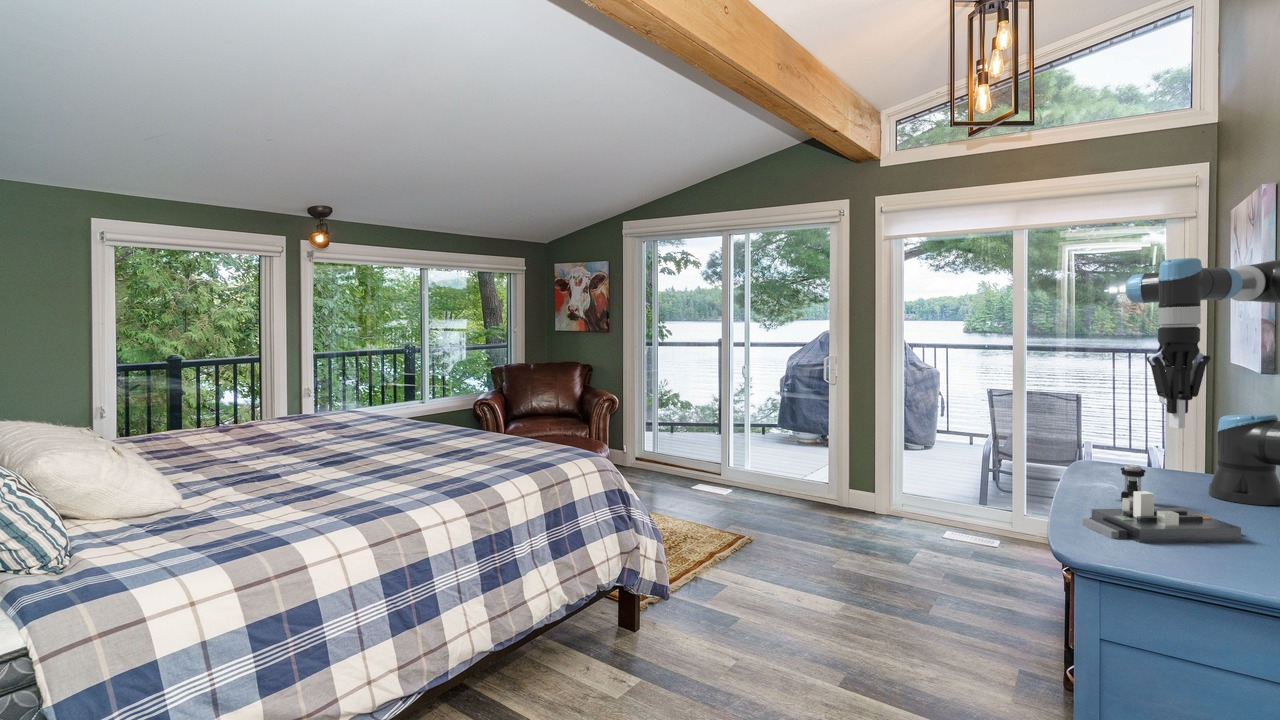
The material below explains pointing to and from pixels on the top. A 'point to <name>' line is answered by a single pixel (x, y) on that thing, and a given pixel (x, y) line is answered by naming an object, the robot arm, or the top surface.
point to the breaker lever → (1143, 503)
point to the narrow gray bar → (1105, 528)
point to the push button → (1131, 480)
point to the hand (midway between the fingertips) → (1176, 427)
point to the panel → (1172, 532)
